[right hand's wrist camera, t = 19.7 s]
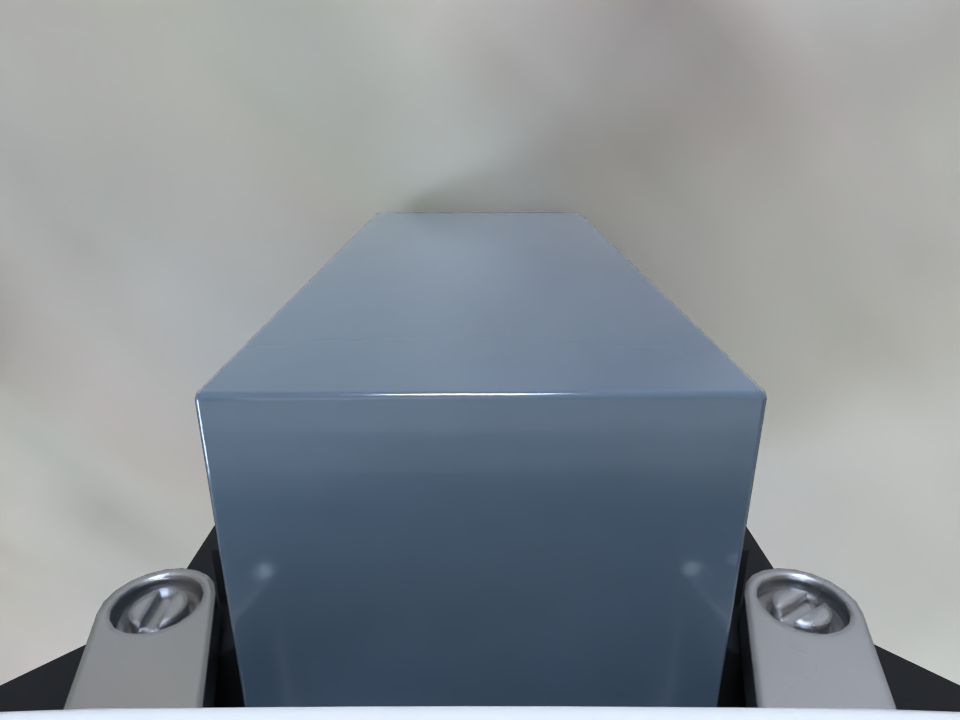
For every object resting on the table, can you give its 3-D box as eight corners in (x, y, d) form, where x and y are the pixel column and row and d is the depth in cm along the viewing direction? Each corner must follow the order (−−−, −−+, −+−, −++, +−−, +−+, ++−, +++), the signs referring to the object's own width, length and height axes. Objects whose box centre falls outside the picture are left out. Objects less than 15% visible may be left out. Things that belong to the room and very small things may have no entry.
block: (580, 212, 16) (770, 392, 6) (565, 499, 19) (675, 977, 9) (376, 212, 16) (190, 393, 6) (391, 500, 19) (285, 979, 9)
